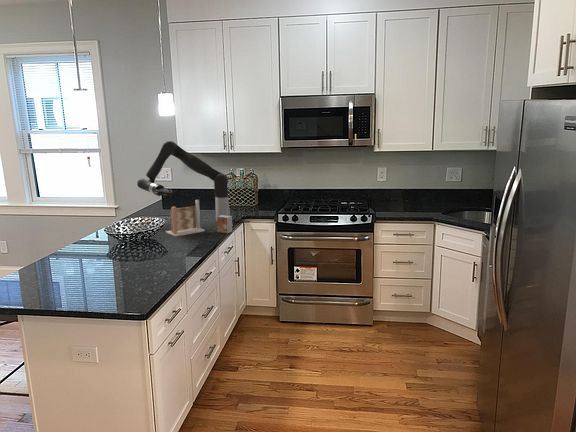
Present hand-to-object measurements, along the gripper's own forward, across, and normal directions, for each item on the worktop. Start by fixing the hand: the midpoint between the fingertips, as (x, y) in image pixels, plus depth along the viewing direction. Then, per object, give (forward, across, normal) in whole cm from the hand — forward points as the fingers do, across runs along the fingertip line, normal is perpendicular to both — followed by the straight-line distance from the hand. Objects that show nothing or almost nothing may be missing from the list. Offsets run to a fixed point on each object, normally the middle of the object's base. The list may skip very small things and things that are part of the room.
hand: (170, 194), depth 296 cm
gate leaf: (+16, +1, +20) cm, 26 cm away
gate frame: (+15, +3, +22) cm, 27 cm away
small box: (+33, +21, +20) cm, 44 cm away
